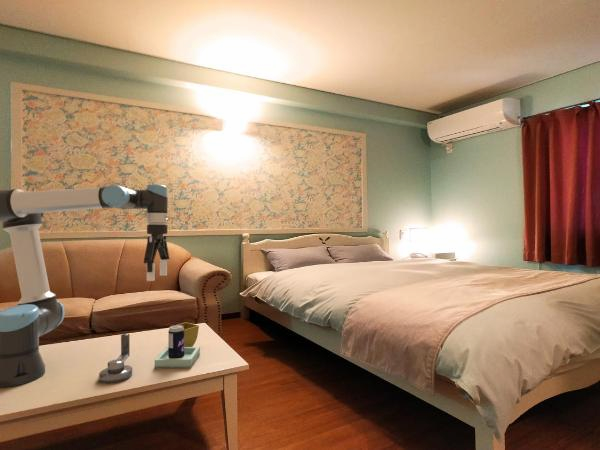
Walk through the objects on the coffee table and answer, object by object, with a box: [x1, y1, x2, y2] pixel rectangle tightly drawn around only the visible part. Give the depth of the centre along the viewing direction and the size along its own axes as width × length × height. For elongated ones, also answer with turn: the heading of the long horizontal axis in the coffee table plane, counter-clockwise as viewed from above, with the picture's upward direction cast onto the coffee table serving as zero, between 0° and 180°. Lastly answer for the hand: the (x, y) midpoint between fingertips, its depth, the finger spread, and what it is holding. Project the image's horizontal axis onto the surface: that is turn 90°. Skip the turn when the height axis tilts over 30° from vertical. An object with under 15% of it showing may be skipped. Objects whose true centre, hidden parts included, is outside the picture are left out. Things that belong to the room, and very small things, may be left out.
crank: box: [107, 332, 131, 374], centre depth 124 cm, size 15×5×9 cm, turn 12°
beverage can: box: [167, 324, 184, 359], centre depth 132 cm, size 6×6×12 cm
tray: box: [154, 346, 201, 369], centre depth 132 cm, size 13×13×3 cm
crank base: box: [98, 364, 133, 385], centre depth 119 cm, size 10×10×2 cm
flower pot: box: [169, 322, 200, 347], centre depth 147 cm, size 9×9×9 cm
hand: (157, 278), depth 138 cm, fingers open, 13 cm apart
